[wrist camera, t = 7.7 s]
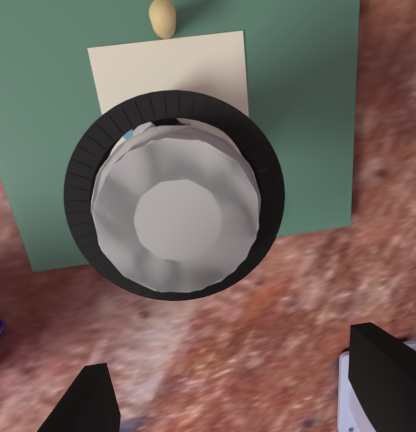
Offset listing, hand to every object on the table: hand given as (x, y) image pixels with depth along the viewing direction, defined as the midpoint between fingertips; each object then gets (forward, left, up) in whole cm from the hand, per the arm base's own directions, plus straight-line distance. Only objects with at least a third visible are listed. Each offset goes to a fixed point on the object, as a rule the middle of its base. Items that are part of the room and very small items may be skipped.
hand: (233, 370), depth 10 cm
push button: (+1, -5, -9) cm, 11 cm away
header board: (+1, -7, -10) cm, 12 cm away
